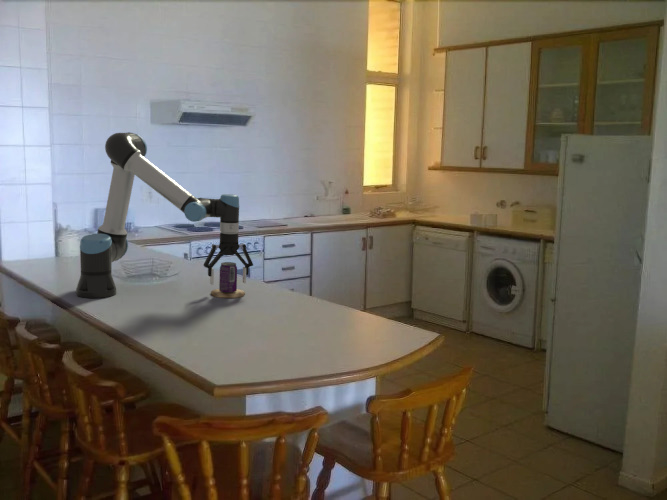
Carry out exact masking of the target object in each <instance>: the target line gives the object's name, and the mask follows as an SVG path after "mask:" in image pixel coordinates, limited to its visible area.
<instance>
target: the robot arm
mask: <svg viewBox="0 0 667 500" xmlns="http://www.w3.org/2000/svg"><path fill="white" fill-rule="evenodd" d="M147 146H148V145H147V143H146V140H145V139H144V137H142V136H141V135H139V134H138V133H134V132H130V131H129V132H115V133H113V134H111V135H110V136H109V137H107V139H106V141H105V145H104V149H105V153H106V155H107V157H108V158H109V159H110V165H111V166H112V167H113V169H112V175H111V180H110V185H109V191H108V196H107V201H106V205H105V206H106V207H105V212H104V218H103V223H102V224H101V225H100V226H98V228H97V233H92V234H87V235H84V236H83V237H82V238H81V239H80V240H79V241H80V244H79V253H80V255H79V256H80V257H79V258H80V276H79V279H78V283H77V284H76V291H75V293H76V296H78V297H81V298H88V299H102V298H109V297H113V296H115V295H116V294H117V286H116V283H115V280H114V277H113V274H112V263H113V262H117V261H119V260H121V259H122V258H123V257H124V256H125V255H126V253H127V252H128V248H129V242H128V239H127V235H128V231H127V230H126V228H125V227H126V221H127V216H128V212H129V211H128V210H129V207H130V201H131V196H132V189H133V186H134V180H135V177H137V178H138V179H139V180H141V181H142V182H143V183H145V184H146V185H147V186H148V187H150V188H151V189H152V190H154V191H155V192H156V193H158V194H159V195H160V196H162V197H163V198H164V199H166V201H168V202H169V203H170V204H172V205H173V206H174V207H175V208H177V209H178V210H180V211H181V212H182V213H183V214H184V217H185V218H186V219H187V220H188V221H190V222H196V223H197V222H201V221H202V220H204V219H206V218H219V219H220V220H219V221H220V222H219V232H220V233H219V244H215V243H212V244H211V249H210V251H209V253H208V255H207V257H206V259H205V260H204V262H203V267H204V268H207V276H208V277H210V279H209V280H210V281H209V284H210V285H212V286H213V285H214V279H215V277H214V276H215V274H214V273H215V271H214V270H215V269H214V268H213V267H215V265H216V264H217V263H218V261H220V259H221V258H222V257H223V256H234V255H235V256H236V257H237V258H238V259H239V261H240V262H241V263H242V264H243V267H242V283H243V284H247V276H249V271H250V270H249V269H250V267H253V266H254V263H253V261H252V259H251V258H252V257H251V256H250V253H248V251H247V245H246V244H245V243H244V242H243V243H241V244H240V243H239V233H238V232H239V231H240V229H239V228H240V226H239V224H240V222H239V221H240V197H239V195H237V194H231V193H230V194H226V193H224V194H221V195H220V198H208V197H207V198H206V197H204V198H203V197H196V196H194V194H192V193H191V192H190V191H188V190H187V189H186V188H184V187H183V186H182V185H180V184H179V183H178V182H177V181H175V180H174V179H172V178H171V177H170V176H169V175H167V174H166V173H165V172H164V171H162V170H161V169H160V168H159V167H158V166H156V165H155V164H153V163H152V162H151V161H150V160H148V159H147V158H145V157H146V155H147V151H148V147H147ZM218 249H219V252H217V254H216V255H215V253H216V251H217V250H218ZM239 249H241V251H242V252H243V255H244V257H245V258H246V260H245V259H244V258H243V257H242V255H241V254H240V253H239V252H238V250H239ZM214 255H215V256H214ZM213 257H214V258H213ZM212 258H213V259H212ZM246 261H247V262H246Z"/></svg>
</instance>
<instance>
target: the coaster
mask: <svg viewBox="0 0 667 500" xmlns="http://www.w3.org/2000/svg"><path fill="white" fill-rule="evenodd" d="M210 295H211V296H212V297H215V298H221V299H239V298H242V297H245V296H246V292H245V291H244V290H243V289H238V288H237V291H235V292H234V293H223V292H221V291H219V288H216V289H213V290H211V291H210Z"/></svg>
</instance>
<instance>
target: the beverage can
mask: <svg viewBox="0 0 667 500" xmlns="http://www.w3.org/2000/svg"><path fill="white" fill-rule="evenodd" d="M218 289H219V291H221V292H223V293H234V292H235V291H237V289H238V266H237V263H236V262H232V261H224V262H221V263H220V266H219V288H218Z"/></svg>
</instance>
